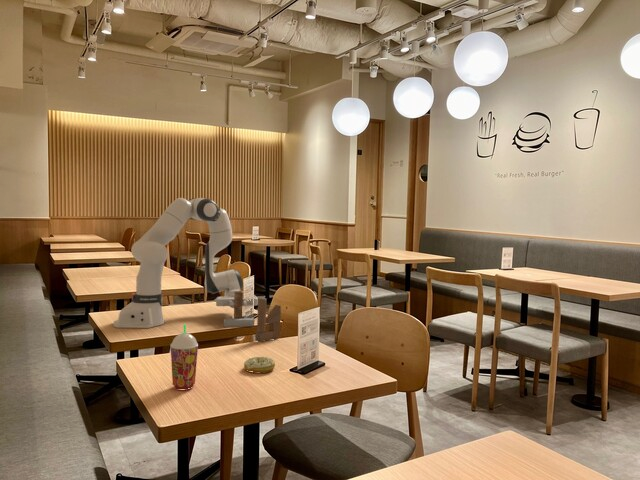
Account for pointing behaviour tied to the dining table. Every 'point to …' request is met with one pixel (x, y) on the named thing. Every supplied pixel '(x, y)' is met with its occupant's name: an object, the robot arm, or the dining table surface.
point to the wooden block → (267, 322)
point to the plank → (238, 304)
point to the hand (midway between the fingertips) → (238, 304)
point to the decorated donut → (259, 364)
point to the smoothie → (184, 360)
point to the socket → (238, 322)
